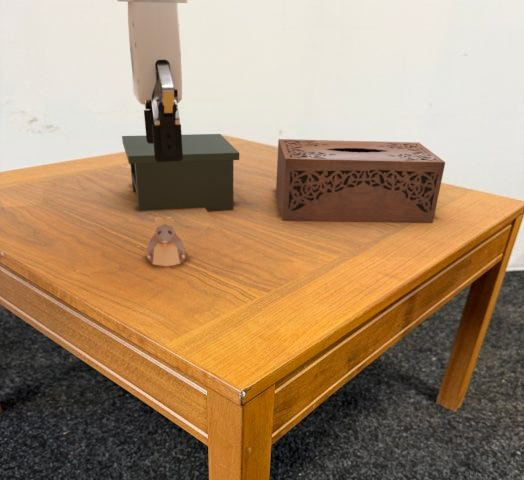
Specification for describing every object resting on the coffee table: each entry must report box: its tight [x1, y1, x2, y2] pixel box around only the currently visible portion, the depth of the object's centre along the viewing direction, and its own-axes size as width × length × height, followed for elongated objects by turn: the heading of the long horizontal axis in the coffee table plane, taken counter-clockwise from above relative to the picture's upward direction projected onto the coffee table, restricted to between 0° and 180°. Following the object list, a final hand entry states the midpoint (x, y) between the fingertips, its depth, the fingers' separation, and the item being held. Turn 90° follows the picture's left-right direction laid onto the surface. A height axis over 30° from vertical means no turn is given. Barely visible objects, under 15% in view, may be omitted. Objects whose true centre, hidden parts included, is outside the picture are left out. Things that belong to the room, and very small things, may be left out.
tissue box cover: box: [275, 138, 446, 224], centre depth 96 cm, size 26×14×10 cm, turn 93°
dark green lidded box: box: [121, 133, 240, 212], centre depth 97 cm, size 18×15×10 cm
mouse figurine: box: [146, 216, 186, 267], centre depth 74 cm, size 5×8×7 cm, turn 7°
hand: (163, 151), depth 68 cm, fingers open, 9 cm apart
